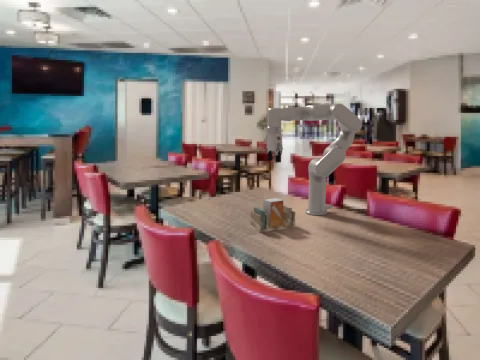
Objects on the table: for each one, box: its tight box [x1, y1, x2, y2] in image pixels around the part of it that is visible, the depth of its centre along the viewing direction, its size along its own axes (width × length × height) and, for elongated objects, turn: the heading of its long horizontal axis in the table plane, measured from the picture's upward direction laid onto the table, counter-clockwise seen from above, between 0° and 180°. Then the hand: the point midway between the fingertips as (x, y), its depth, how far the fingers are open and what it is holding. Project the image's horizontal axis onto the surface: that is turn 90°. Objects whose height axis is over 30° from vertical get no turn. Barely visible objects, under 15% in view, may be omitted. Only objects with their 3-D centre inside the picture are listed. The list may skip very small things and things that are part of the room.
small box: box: [262, 197, 284, 227], centre depth 190 cm, size 8×6×13 cm
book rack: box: [250, 203, 296, 233], centre depth 191 cm, size 20×10×10 cm, turn 114°
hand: (273, 161), depth 213 cm, fingers open, 9 cm apart
